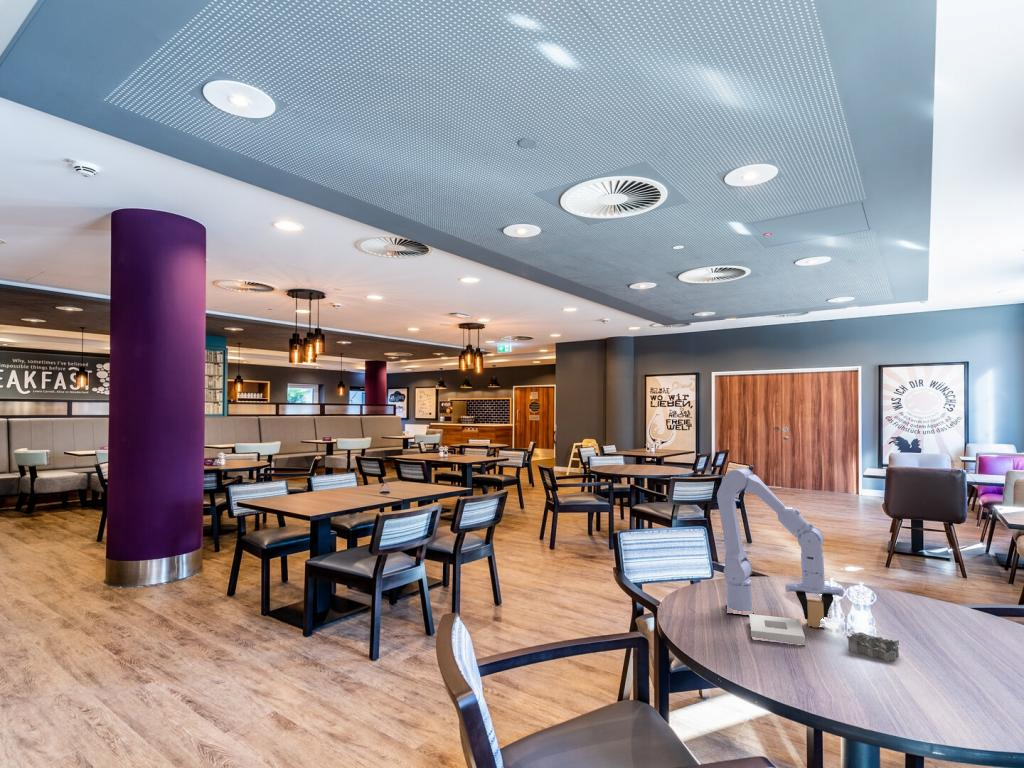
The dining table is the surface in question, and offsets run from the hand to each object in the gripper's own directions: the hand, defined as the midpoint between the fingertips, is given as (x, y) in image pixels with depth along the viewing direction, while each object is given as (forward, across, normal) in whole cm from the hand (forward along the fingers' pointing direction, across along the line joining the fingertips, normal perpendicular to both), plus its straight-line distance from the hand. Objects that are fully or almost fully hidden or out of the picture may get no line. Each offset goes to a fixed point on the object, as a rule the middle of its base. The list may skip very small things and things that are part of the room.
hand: (815, 619), depth 158 cm
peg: (+2, 0, 0) cm, 2 cm away
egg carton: (+2, +11, -15) cm, 18 cm away
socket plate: (+2, -11, -10) cm, 15 cm away
